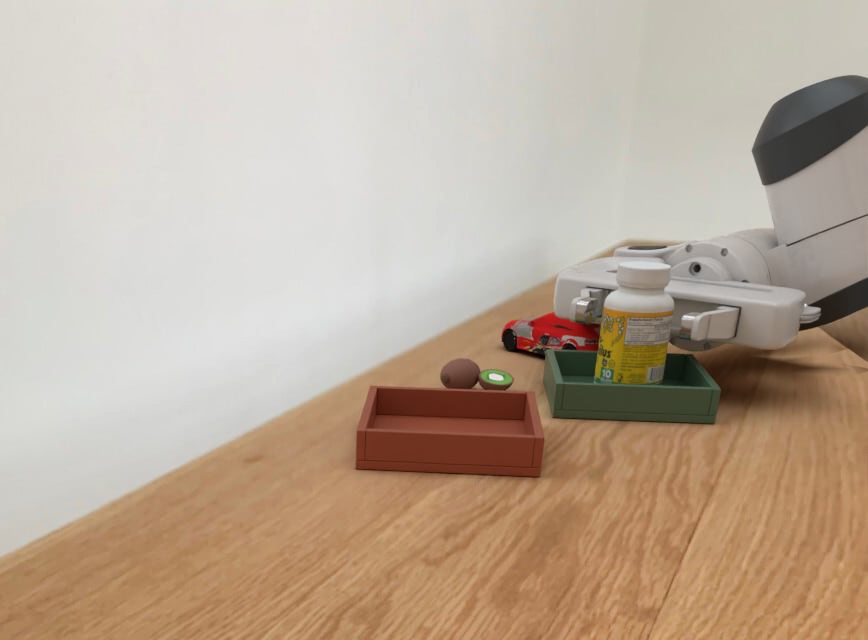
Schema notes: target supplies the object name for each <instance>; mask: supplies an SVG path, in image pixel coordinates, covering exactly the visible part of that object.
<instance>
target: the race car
mask: <svg viewBox="0 0 868 640" xmlns="http://www.w3.org/2000/svg"><path fill="white" fill-rule="evenodd" d="M600 330H601V324H595V323H588V324H584V323H577V322H571V321H570V320H569V319H561V318H558V317H557V316H556V315H555V313H554V311H553V312H548V313H546V314H543V315H541V316H539V317H523V318H516V319H513V320H510V321H509V322H507V323H506V324H505V325H504V326H503V328H502V330H501V331H502V332H501V343H502V344H503V346H504V347H503V348H505V350H507V351H509V352H513V351H518V350H522V351H527V352H531V353H535V354H538V355H541V356H542V355H543V356H546V350H547V349H553V350H554V349H556V350H586V351H598V348H599V338H600Z"/></svg>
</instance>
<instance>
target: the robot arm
mask: <svg viewBox="0 0 868 640" xmlns="http://www.w3.org/2000/svg"><path fill="white" fill-rule="evenodd" d="M751 153H752V157H753V160H754V163H755V166H756V169H757V172H758V175H759V178H760V182H761V184H762V185H761V186H764V191H765V194H766V198H767V202H768V203H767V204H768V207H769V211H770V216H771V221H772V224H773V225H772V226H773V227H757V228H750V229H744V230H738V231H735V232H732V233H729V234H727V235H720V236H715V237H711V238H708V239H704V240H699V241H698V240H691V241H687V242H683V243H679V244H675V245H632V246H631V245H629V246H627V245H625V246H620V247H618V248H617V247H616V249H614V252H613V256H607V257H600V258H595V259H592V260H589V261H585V262H582V263H579V264H576V265H574V266H571V267H568V268H566V269H564V270H562V271H561V272H560V273H559V274H558V275H557V278H556V281H555V285H554V293H553V303H552V304H553V307H552V308H553V312H554V313H555V315H556V316H557V317H558V318H561V319H569V320H570V321H571V322H577V323H584V324H588V323H595V324H601V323H602V315H603V308H604V302H605V299H606V298H607V296H608V295H609V294H610V293H611V292H613V291H615V290H618V289H619V284H617V280H616V275H617V269H618V264H619V263H621V262H629V261H643V262H656V263H663V264H667V265H670V266H671V274H670V282H669V283H668V286H666V287H665V289H664V292H665V293H667V294H669V295H670V296H671V297H672V299H673V301H674V312H673V318H672V324H671V330H670V336H669V342H668V343H669V344H671V345H673V346H674V347H676V348H678V349H680V350H683V351H686V352H687V351H688V352H693V353H694V352H695V353H696V352H697V353H699V352H706V351H711V350H713V349H716V348H718V347H721V346H723V345H731V346H740V347H745V348H752V349H758V350H764V351H765V350H766V351H767V350H768V351H770V350H771V351H772V350H774V351H775V350H780V349H781V350H782V349H783V348H785V347H786V346H788V345H790V344H791V343H792V342H793V341H794V340H795V339H796V338H797V336H798V334H799V332H802V331H808V330H813V329H815V328H819V327H822V326H825V325H828V324H831V323H834V322H836V321H839V320H841V319H844V318H846V317H848V316H851V315H852V314H855V313H857V312H859V311H861V310H864V309H866V308H868V77H867V76H862V75H857V74H845V75H841V76H840V75H839V76H830V77H825V78H821V79H817V80H814V81H811V82H809V83H807V84H805V85H802V86H799V87H798V88H796V89H795V90H793V91H791V92H790V93H787V95H785V96H783V97H782V98H780V99H778V100H777V101H776V102H774V104H772V105H771V107H770V108H769V110H768V112H767V113H766V115H765V117H764V118H763V121H762V123H761V125H760V127H759V129H758V132H757V134H756V137H755V140H754V142H753V145H752V148H751Z"/></svg>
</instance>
